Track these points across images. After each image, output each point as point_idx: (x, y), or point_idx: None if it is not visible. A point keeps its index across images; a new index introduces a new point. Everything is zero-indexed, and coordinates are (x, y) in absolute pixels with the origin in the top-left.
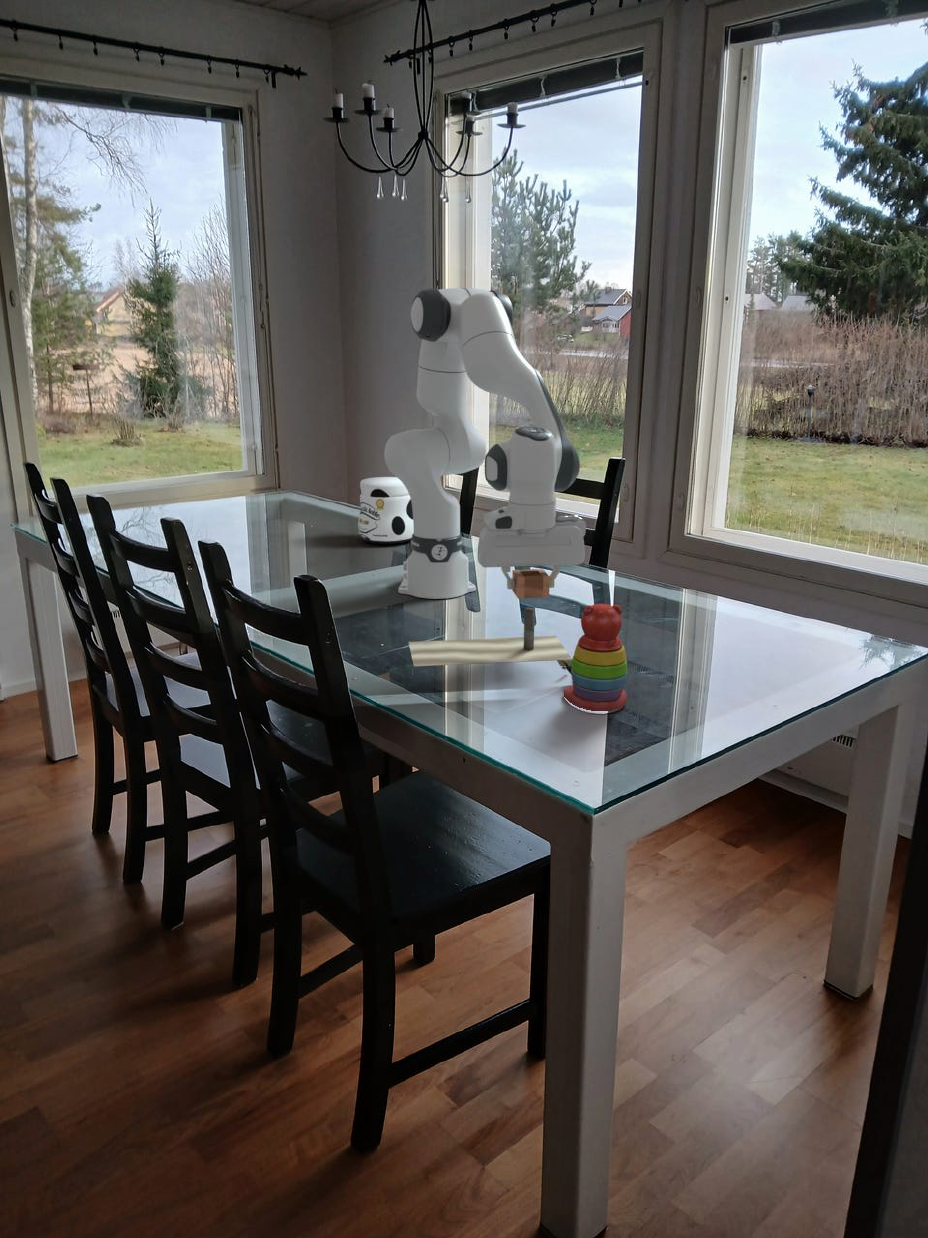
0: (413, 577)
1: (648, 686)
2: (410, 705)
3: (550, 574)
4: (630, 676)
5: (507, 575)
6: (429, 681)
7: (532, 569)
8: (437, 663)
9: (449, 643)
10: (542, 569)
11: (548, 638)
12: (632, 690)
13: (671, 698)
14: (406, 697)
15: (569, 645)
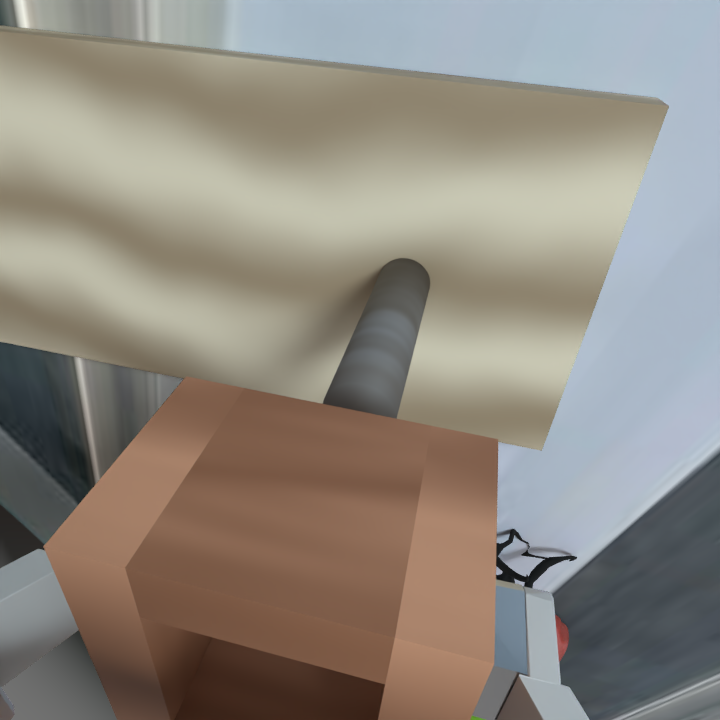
0: None
1: (690, 620)
2: (24, 494)
3: (535, 711)
4: (698, 556)
5: (19, 659)
6: (36, 385)
7: (323, 624)
8: (22, 331)
9: (20, 95)
10: (473, 674)
11: (589, 147)
12: (617, 620)
13: (687, 681)
14: (3, 456)
15: (714, 165)
